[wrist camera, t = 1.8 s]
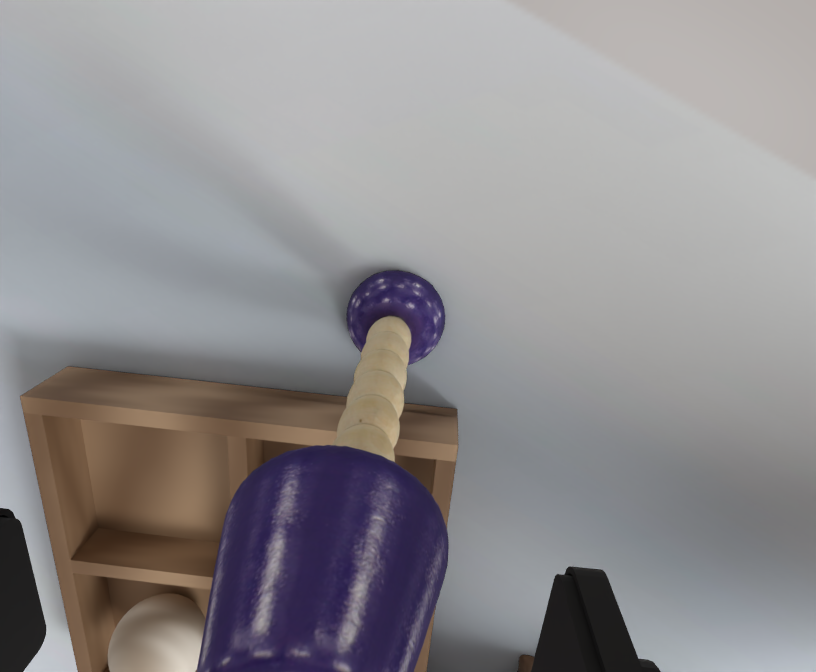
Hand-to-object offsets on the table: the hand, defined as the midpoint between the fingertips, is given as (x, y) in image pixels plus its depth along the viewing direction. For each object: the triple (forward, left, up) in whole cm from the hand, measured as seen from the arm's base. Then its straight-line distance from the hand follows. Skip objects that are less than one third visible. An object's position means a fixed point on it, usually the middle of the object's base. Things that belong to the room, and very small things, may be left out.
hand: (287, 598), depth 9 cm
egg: (+10, +18, -14) cm, 24 cm away
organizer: (+5, +13, -15) cm, 20 cm away
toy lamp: (-1, 0, -15) cm, 15 cm away
